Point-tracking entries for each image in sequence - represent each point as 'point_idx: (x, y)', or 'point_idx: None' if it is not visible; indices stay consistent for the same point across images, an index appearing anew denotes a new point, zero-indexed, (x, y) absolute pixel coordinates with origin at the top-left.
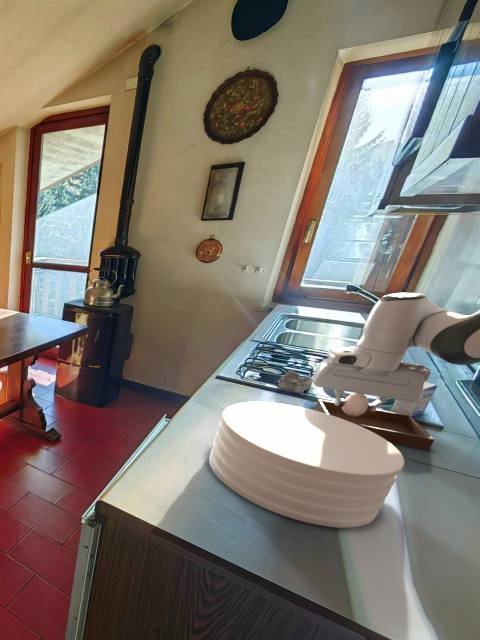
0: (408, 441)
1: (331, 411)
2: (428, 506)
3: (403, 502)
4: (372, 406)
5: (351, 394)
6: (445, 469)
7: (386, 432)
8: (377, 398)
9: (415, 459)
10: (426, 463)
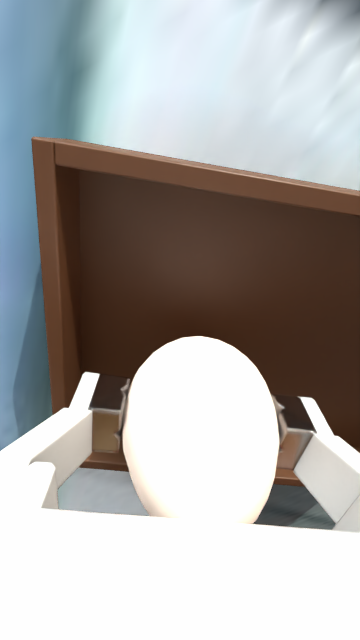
0: None
1: (159, 193)
2: None
3: None
4: (286, 462)
5: (146, 494)
6: (321, 521)
7: None
8: (342, 519)
9: (279, 503)
10: (294, 511)
